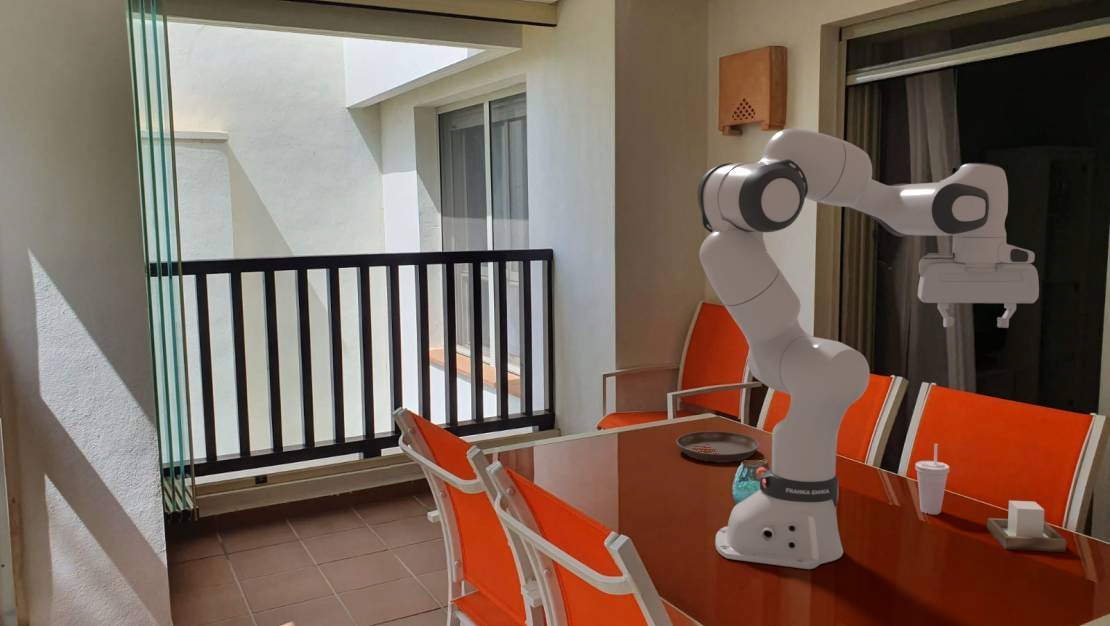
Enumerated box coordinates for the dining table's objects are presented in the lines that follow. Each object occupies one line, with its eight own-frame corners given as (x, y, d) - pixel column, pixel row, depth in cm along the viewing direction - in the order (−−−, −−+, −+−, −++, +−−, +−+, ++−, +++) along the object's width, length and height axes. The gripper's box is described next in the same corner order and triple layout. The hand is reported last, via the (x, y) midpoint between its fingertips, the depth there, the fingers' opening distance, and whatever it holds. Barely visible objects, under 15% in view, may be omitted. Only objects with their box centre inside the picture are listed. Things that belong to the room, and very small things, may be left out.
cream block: (1015, 540, 156) (1017, 508, 155) (1007, 531, 160) (1009, 500, 159) (1042, 541, 155) (1044, 509, 154) (1033, 532, 159) (1035, 501, 159)
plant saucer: (767, 465, 207) (767, 452, 207) (682, 466, 208) (682, 452, 207) (749, 443, 228) (749, 430, 228) (671, 443, 228) (672, 431, 228)
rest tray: (1005, 549, 153) (1005, 537, 153) (987, 529, 163) (987, 518, 163) (1065, 552, 152) (1066, 540, 152) (1043, 531, 162) (1044, 520, 161)
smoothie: (951, 517, 170) (954, 449, 168) (917, 515, 171) (919, 447, 169) (943, 506, 176) (946, 440, 174) (910, 505, 177) (912, 439, 176)
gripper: (923, 253, 156) (920, 328, 157) (1044, 253, 152) (1040, 329, 154) (914, 252, 162) (912, 324, 163) (1031, 251, 158) (1027, 325, 160)
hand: (975, 327), depth 159 cm, fingers open, 8 cm apart
